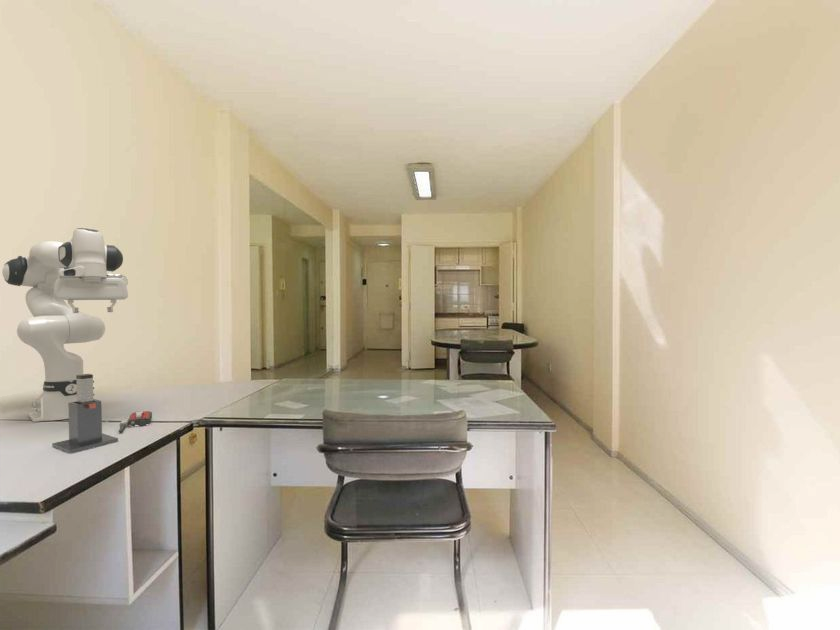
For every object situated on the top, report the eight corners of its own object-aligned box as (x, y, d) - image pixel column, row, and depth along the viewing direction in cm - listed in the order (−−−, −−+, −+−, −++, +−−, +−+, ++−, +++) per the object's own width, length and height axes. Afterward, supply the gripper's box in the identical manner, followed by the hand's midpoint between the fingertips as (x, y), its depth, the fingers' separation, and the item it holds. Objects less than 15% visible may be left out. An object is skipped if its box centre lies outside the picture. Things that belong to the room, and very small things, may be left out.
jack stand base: (52, 446, 120) (51, 403, 120) (99, 435, 130) (99, 395, 130) (69, 453, 114) (69, 408, 114) (118, 441, 125) (117, 400, 124)
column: (76, 440, 122) (75, 375, 121) (90, 437, 125) (89, 373, 124) (81, 442, 120) (80, 376, 120) (95, 438, 123) (94, 374, 123)
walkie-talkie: (124, 421, 149) (116, 436, 132) (124, 409, 149) (115, 422, 132) (152, 417, 153) (148, 431, 136) (152, 406, 153) (148, 418, 136)
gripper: (125, 276, 150) (127, 312, 149) (51, 274, 136) (54, 314, 135) (128, 273, 146) (131, 310, 145) (52, 270, 131) (55, 312, 131)
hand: (93, 312), depth 140 cm, fingers open, 8 cm apart
